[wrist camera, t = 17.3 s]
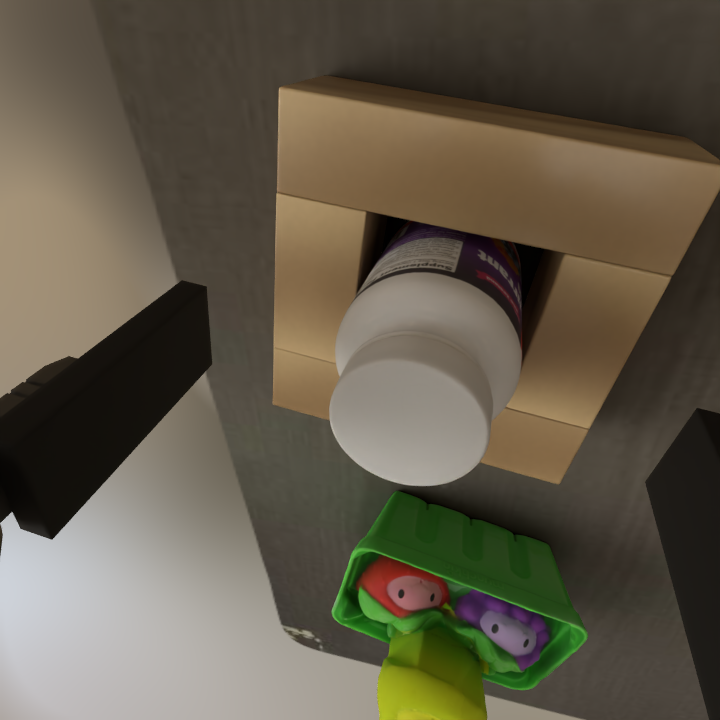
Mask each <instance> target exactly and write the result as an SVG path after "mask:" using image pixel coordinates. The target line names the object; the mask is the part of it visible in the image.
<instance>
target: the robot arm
mask: <svg viewBox="0 0 720 720" xmlns="http://www.w3.org/2000/svg"><path fill="white" fill-rule="evenodd" d="M211 365H212V355H211V341H210V328H209V314H208V301H207V287H206V286H203V285H199V284H195V283H191V282H187V281H180V282H179V283H178V284H177V285H175V286H174V287H173V288H171V289H170V290H169V291H167V292H166V293H165V294H163V295H162V296H161V297H159V298H158V299H157V300H156V301H154V302H153V303H151V304H150V305H149V306H148V307H146V308H145V309H143V310H142V311H141V312H139V313H138V314H137V315H135V316H134V317H133V318H131V319H130V320H129V321H127V322H126V323H125V324H123V325H122V326H121V327H119V328H118V329H117V330H116V331H114V332H113V333H112V334H110V335H109V336H107V337H106V338H105V339H104V340H102V341H101V342H100V343H98V344H97V345H96V346H94V347H93V348H92V349H90V350H89V351H88V352H87V353H85V354H84V355H82V356H81V357H80V358H78V359H77V358H73V357H70V356H68V357H66V358H64V359H61V360H59V361H56V362H54V363H51V364H49V365H47V366H44V367H43V368H42V369H40V370H39V371H37V372H36V373H35V374H33V375H32V376H30V377H29V378H28V379H26V382H25V383H24V382H22V383H21V384H19V385H18V386H16V387H15V388H14V389H12V390H11V393H10V394H8V393H7V394H5V395H4V396H3V397H1V398H0V523H1V522H2V521H3V520H4V519H5V518H6V517H7V516H8V515H9V514H10V513H11V512H13V514H14V516H15V518H16V520H17V522H18V524H19V526H20V528H21V529H23V530H26V531H29V532H31V533H34V534H37V535H40V536H43V537H46V538H49V539H53V538H54V537H55V536H56V535H57V534H58V533H59V531H60V530H61V529H62V528H63V527H64V526H65V525H66V524H67V523H68V522H69V520H70V519H71V518H72V517H73V516H74V515H75V514H76V513H77V512H78V511H79V509H80V508H81V507H82V506H83V505H84V504H85V503H86V502H87V501H88V500H89V499H90V497H91V496H92V495H93V494H94V493H95V492H96V491H97V490H98V489H99V488H100V487H101V485H102V484H103V483H104V482H105V481H106V480H107V479H108V478H109V477H110V476H111V475H112V473H113V472H114V471H115V470H116V469H117V468H118V467H119V466H120V465H121V464H122V462H123V461H124V460H125V459H126V458H127V457H128V456H129V455H130V454H131V453H132V451H133V450H134V449H135V448H136V447H137V446H138V445H139V444H140V443H141V441H142V440H143V439H144V438H145V437H146V436H147V435H148V434H149V433H150V432H151V431H152V430H153V428H154V427H155V426H156V425H157V424H158V423H159V422H160V421H161V420H162V418H163V417H164V416H165V415H166V414H167V413H168V412H169V411H170V410H171V409H172V407H173V406H174V405H175V404H176V403H177V402H178V401H179V400H180V399H181V398H182V397H183V395H184V394H185V393H186V392H187V391H188V390H189V389H190V388H191V387H192V386H193V385H194V383H195V382H196V381H197V380H198V379H199V378H200V377H201V376H202V375H203V374H204V372H205V371H206V370H207V369H208V368H209V367H210V366H211ZM645 483H646V487H647V490H648V494H649V498H650V502H651V505H652V509H653V513H654V516H655V520H656V524H657V528H658V531H659V535H660V539H661V542H662V546H663V550H664V553H665V557H666V561H667V565H668V568H669V572H670V576H671V579H672V583H673V587H674V590H675V594H676V598H677V602H678V605H679V609H680V613H681V616H682V620H683V624H684V628H685V631H686V635H687V639H688V642H689V646H690V650H691V653H692V657H693V661H694V665H695V668H696V672H697V676H698V679H699V683H700V687H701V690H702V694H703V698H704V702H705V705H706V709H707V713H708V716H709V720H720V414H719V413H715V412H711V411H707V410H703V409H699V408H697V409H696V410H695V412H694V413H693V415H692V416H691V417H690V419H689V420H688V422H687V423H686V425H685V426H684V427H683V429H682V430H681V432H680V433H679V435H678V436H677V437H676V439H675V440H674V442H673V443H672V445H671V446H670V447H669V449H668V450H667V452H666V453H665V455H664V456H663V457H662V459H661V460H660V462H659V463H658V465H657V466H656V467H655V469H654V470H653V472H652V473H651V475H650V476H649V477H648V479H647V480H646V482H645ZM2 536H3V534H2V529H1V525H0V553H1V545H2Z"/></svg>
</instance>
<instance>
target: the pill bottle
mask: <svg viewBox="0 0 720 720" xmlns="http://www.w3.org/2000/svg"><path fill="white" fill-rule="evenodd" d="M335 359H336V366H337V370H338V373H339V376H340V378H339V380H338V382H337V385H336V387H335V389H334V391H333V394H332V397H331V400H330V406H329V417H330V423H331V428H332V431H333V433H334V435H335V437H336V439H337V441H338V443H339V444H340V446H341V447H342V448H343V450H344V451H345V452H346V453H347V454H348V455H349V457H350V458H352V459H353V460H354V461H355V462H356V463H357V464H359V465H360V466H361V467H363V468H364V469H366V470H367V471H369V472H371V473H373V474H375V475H377V476H379V477H381V478H383V479H386V480H389V481H392V482H396V483H400V484H405V485H412V486H433V485H440V484H444V483H448V482H451V481H454V480H456V479H458V478H460V477H462V476H464V475H466V474H467V473H469V472H470V471H471V470H472V469H473V468H475V467H476V466H477V464H478V463H479V462H480V461H481V459H482V458H483V456H484V454H485V452H486V450H487V447H488V444H489V440H490V432H491V422H492V420H493V419H495V418H496V417H497V416H498V415H499V414H500V413H501V412H502V411H503V409H504V408H505V407H506V406H507V404H508V403H509V401H510V400H511V398H512V396H513V394H514V392H515V390H516V387H517V384H518V381H519V377H520V371H521V362H522V271H521V264H520V259H519V255H518V252H517V250H516V247H515V245H514V243H513V242H510V241H505V240H501V239H496V238H491V237H486V236H482V235H477V234H472V233H468V232H463V231H458V230H453V229H449V228H444V227H439V226H435V225H430V224H425V223H420V222H416V221H411V220H409V221H408V222H407V223H405V224H404V225H403V226H402V227H401V228H400V229H399V230H398V232H397V233H396V234H395V235H394V237H393V238H392V239H391V241H390V242H389V244H388V245H387V247H386V249H385V250H384V252H383V253H382V255H381V256H380V258H379V260H378V261H377V263H376V264H375V266H374V268H373V269H372V271H371V272H370V274H369V275H368V277H367V279H366V280H365V282H364V284H363V285H362V287H361V289H360V290H359V292H358V293H357V295H356V297H355V298H354V300H353V301H352V303H351V305H350V306H349V308H348V310H347V312H346V314H345V316H344V318H343V320H342V322H341V324H340V327H339V330H338V334H337V337H336V343H335Z"/></svg>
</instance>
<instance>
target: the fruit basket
mask: <svg viewBox="0 0 720 720" xmlns="http://www.w3.org/2000/svg"><path fill="white" fill-rule="evenodd" d="M332 616H333V617H334V619H335V620H336V621H338V622H339V623H340V624H342V625H344V626H347V627H349V628H352V629H354V630H357V631H360V632H362V633H364V634H367V635H369V636H372V637H374V638H377V639H379V640H381V641H384V642H386V643H389V644H390V648H389V656H388V657H387V658H385V659H384V662H383V664H382V668H381V672H380V674H379V678H378V690H377V691H378V692H377V693H378V695H377V699H378V707H379V714H380V717H379V720H487V711H486V705H485V696H484V689H483V682H482V679H485V680H488V681H491V682H494V683H496V684H500V685H502V686H505V687H508V688H511V689H516V690H528V689H531V688H533V687H535V686H536V685H537V684H538V683H539V681H540V680H542V679H544V678H545V677H547V676H548V675H549V674H550V673H551V672H553V670H555V669H556V668H557V667H558V666H559V665H560V664H561V663H563V662H564V661H565V660H566V659H567V658H568V657H569V656H570V655H572V654H573V653H574V652H575V651H577V650H578V649H579V647H580V646H581V645H582V644H583V643H584V642H585V641H586V640H587V638H588V634H587V631H586V629H585V627H584V625H583V623H582V620H581V618H580V616H579V614H578V613H577V612H576V611H575V610H574V608H573V606H572V603H571V601H570V598H569V596H568V593H567V590H566V588H565V585H564V583H563V580H562V577H561V575H560V572H559V570H558V567H557V564H556V562H555V559H554V557H553V554H552V551H551V549H550V546H549V545H548V544H546V543H544V542H541V541H538V540H536V539H533V538H530V537H527V536H523V535H513V533H512V532H510V531H508V530H506V529H504V528H502V527H499V526H496V525H493V524H490V523H488V522H485V521H482V520H475V519H472V520H470V519H469V517H467V516H465V515H464V514H462V513H459V512H457V511H454V510H451V509H448V508H445V507H443V506H439V505H434V504H429V505H427V503H426V502H425V501H423V500H421V499H419V498H417V497H414V496H411V495H408V494H406V493H403V492H400V491H395V492H394V493H393V494H392V496H391V497H390V499H389V500H388V502H387V503H386V505H385V507H384V508H383V510H382V511H381V513H380V515H379V516H378V518H377V519H376V521H375V523H374V524H373V526H372V527H371V529H370V531H369V532H368V534H367V535H366V537H364V538H363V539H361V540H360V542H359V543H358V545H357V546H356V548H355V549H354V551H353V552H352V554H351V557H350V561H349V564H348V567H347V570H346V573H345V576H344V579H343V582H342V585H341V588H340V590H339V593H338V596H337V598H336V601H335V603H334V606H333V608H332Z"/></svg>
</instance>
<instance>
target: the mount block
mask: <svg viewBox="0 0 720 720" xmlns="http://www.w3.org/2000/svg"><path fill="white" fill-rule="evenodd" d="M719 190H720V160H719V159H718V158H716V157H715V156H713V155H712V154H710V153H709V152H707V151H706V150H705V149H703V148H702V147H700V146H699V145H697V144H696V143H694V142H693V141H691V140H690V139H688V138H687V137H681V136H675V135H669V134H664V133H658V132H652V131H646V130H640V129H635V128H629V127H623V126H617V125H611V124H606V123H600V122H594V121H588V120H582V119H576V118H571V117H565V116H559V115H553V114H547V113H542V112H536V111H530V110H524V109H518V108H513V107H507V106H501V105H495V104H489V103H484V102H478V101H472V100H466V99H460V98H455V97H449V96H443V95H437V94H431V93H426V92H420V91H414V90H408V89H402V88H397V87H391V86H385V85H379V84H373V83H368V82H362V81H356V80H350V79H344V78H339V77H333V76H327V75H324V76H320V77H316V78H312V79H308V80H305V81H301V82H297V83H293V84H289V85H285V86H282V87H280V88H279V113H278V166H277V191H278V193H277V194H276V249H275V303H274V369H273V404H274V405H276V406H280V407H284V408H287V409H291V410H294V411H298V412H301V413H305V414H309V415H312V416H316V417H319V418H323V419H326V420H330V417H329V406H330V400H331V397H332V394H333V391H334V389H335V387H336V385H337V382H338V380H339V378H340V376H339V373H338V370H337V366H336V359H335V343H336V337H337V334H338V330H339V327H340V324H341V322H342V320H343V318H344V316H345V314H346V312H347V310H348V308H349V306H350V305H351V303H352V301H353V300H354V298H355V297H356V295H357V293H358V292H359V290H360V289H361V287H362V285H363V284H364V282H365V280H366V279H367V277H368V275H369V274H370V272H371V271H372V269H373V268H374V266H375V264H376V263H377V261H378V260H379V258H380V256H381V255H382V250H383V243H384V237H385V230H386V224H387V217H388V216H392V217H397V218H402V219H406V220H411V221H416V222H420V223H425V224H430V225H435V226H439V227H444V228H449V229H453V230H458V231H463V232H468V233H472V234H477V235H482V236H486V237H491V238H496V239H501V240H505V241H510V242H515V243H519V244H524V245H529V246H534V247H538V248H543V249H544V251H543V254H542V257H541V259H540V262H539V265H538V268H537V271H536V273H535V276H534V279H533V282H532V284H531V287H530V290H529V293H528V295H527V298H526V301H525V304H524V306H523V309H522V362H521V371H520V377H519V381H518V384H517V387H516V390H515V392H514V394H513V396H512V398H511V400H510V401H509V403H508V404H507V406H506V407H505V408H504V409H503V411H502V412H501V413H500V414H499V415H498V416H497V417H496V418H495V419H493V420H492V422H491V432H490V440H489V444H488V447H487V450H486V452H485V454H484V456H483V458H482V459H481V461H480V463H483V464H487V465H491V466H494V467H498V468H501V469H505V470H508V471H512V472H516V473H519V474H523V475H526V476H530V477H533V478H537V479H541V480H544V481H548V482H551V483H555V484H560V482H561V481H562V479H563V477H564V475H565V473H566V471H567V470H568V468H569V466H570V464H571V462H572V460H573V459H574V457H575V455H576V453H577V451H578V449H579V448H580V446H581V444H582V442H583V440H584V438H585V437H586V435H587V433H588V431H589V428H590V427H591V425H592V423H593V421H594V419H595V418H596V416H597V414H598V412H599V410H600V408H601V407H602V405H603V403H604V401H605V399H606V397H607V396H608V394H609V392H610V390H611V388H612V386H613V385H614V383H615V381H616V379H617V377H618V375H619V374H620V372H621V370H622V368H623V366H624V364H625V363H626V361H627V359H628V357H629V355H630V353H631V352H632V350H633V348H634V346H635V344H636V342H637V341H638V339H639V337H640V335H641V333H642V331H643V330H644V328H645V326H646V324H647V322H648V320H649V319H650V317H651V315H652V313H653V311H654V309H655V308H656V306H657V304H658V302H659V300H660V298H661V297H662V295H663V293H664V291H665V289H666V287H667V286H668V284H669V282H670V280H671V276H670V275H673V274H674V273H675V271H676V269H677V267H678V266H679V264H680V262H681V260H682V258H683V256H684V255H685V253H686V251H687V249H688V247H689V245H690V244H691V242H692V240H693V238H694V236H695V234H696V233H697V231H698V229H699V227H700V225H701V223H702V222H703V220H704V218H705V216H706V214H707V212H708V211H709V209H710V207H711V205H712V203H713V201H714V200H715V198H716V196H717V194H718V192H719Z"/></svg>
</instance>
